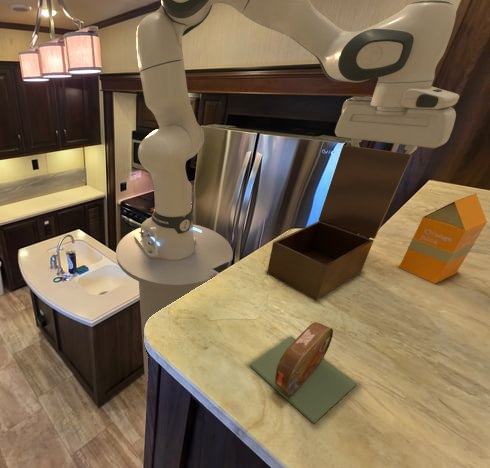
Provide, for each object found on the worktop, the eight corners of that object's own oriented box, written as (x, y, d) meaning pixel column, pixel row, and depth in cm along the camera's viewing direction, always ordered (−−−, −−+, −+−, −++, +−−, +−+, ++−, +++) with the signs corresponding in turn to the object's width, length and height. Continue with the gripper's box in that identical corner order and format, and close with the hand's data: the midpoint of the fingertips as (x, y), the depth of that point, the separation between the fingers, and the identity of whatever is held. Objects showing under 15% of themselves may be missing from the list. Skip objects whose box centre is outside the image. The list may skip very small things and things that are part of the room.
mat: (249, 365, 54) (249, 364, 53) (290, 337, 58) (291, 336, 58) (313, 424, 44) (314, 422, 44) (356, 385, 49) (357, 383, 49)
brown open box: (316, 300, 67) (327, 267, 62) (266, 272, 77) (273, 241, 72) (361, 272, 74) (373, 240, 70) (310, 250, 85) (318, 220, 80)
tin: (285, 404, 47) (296, 371, 42) (266, 390, 49) (275, 357, 45) (328, 354, 54) (341, 322, 50) (310, 343, 56) (321, 312, 52)
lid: (410, 154, 60) (420, 152, 63) (343, 145, 71) (353, 143, 73) (373, 239, 69) (383, 234, 71) (318, 219, 80) (328, 216, 82)
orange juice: (457, 273, 71) (502, 198, 62) (435, 283, 69) (479, 207, 59) (418, 257, 78) (454, 187, 68) (397, 267, 75) (431, 195, 65)
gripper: (338, 97, 68) (323, 155, 75) (458, 99, 52) (425, 173, 59) (353, 94, 71) (337, 151, 78) (471, 95, 55) (438, 167, 62)
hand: (376, 160), depth 68 cm, fingers open, 7 cm apart
